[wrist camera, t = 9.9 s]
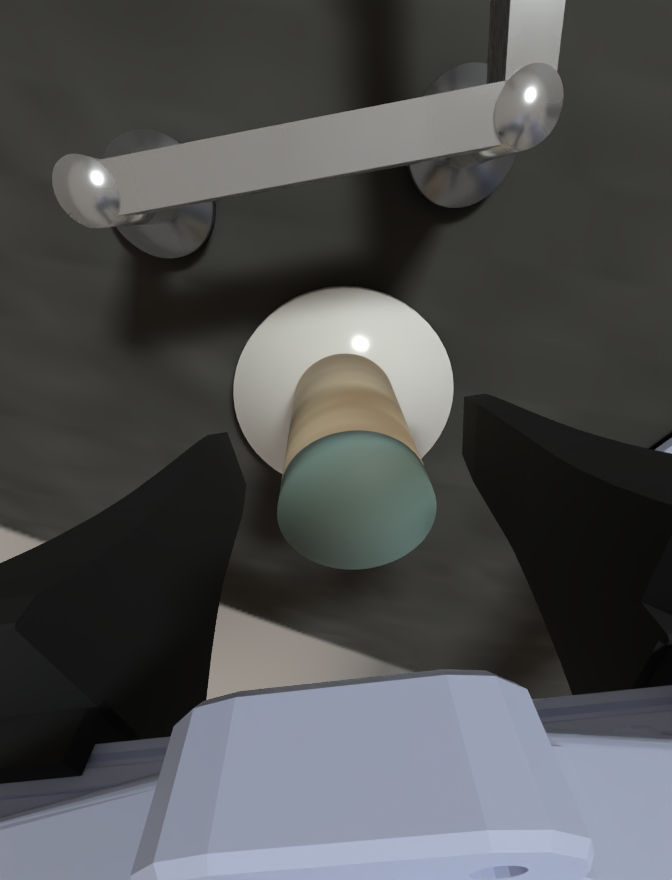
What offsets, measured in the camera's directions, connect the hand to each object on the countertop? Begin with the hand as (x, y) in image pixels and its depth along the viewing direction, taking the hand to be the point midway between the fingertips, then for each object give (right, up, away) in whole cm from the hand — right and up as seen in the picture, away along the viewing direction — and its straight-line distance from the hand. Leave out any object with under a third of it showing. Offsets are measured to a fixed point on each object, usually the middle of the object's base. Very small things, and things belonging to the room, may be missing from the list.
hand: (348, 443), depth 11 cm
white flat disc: (0, +2, +3) cm, 3 cm away
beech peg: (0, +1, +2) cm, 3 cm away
